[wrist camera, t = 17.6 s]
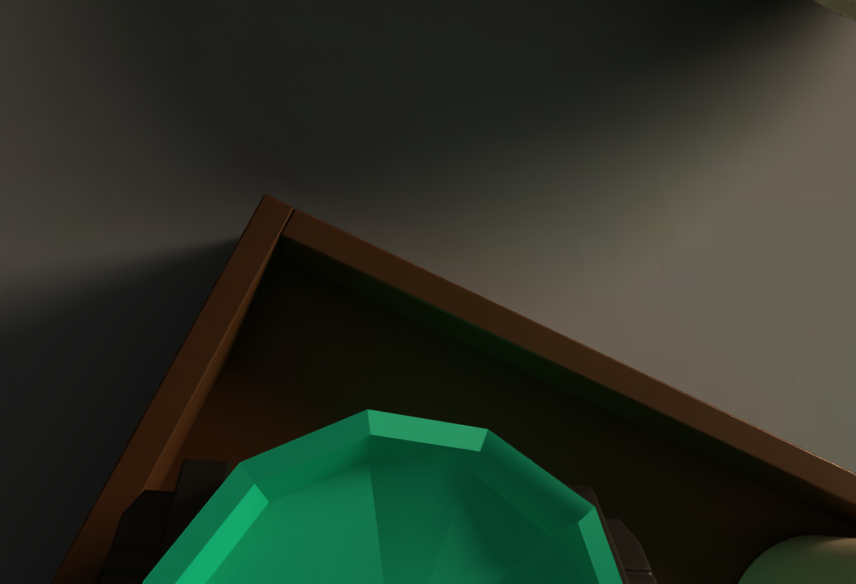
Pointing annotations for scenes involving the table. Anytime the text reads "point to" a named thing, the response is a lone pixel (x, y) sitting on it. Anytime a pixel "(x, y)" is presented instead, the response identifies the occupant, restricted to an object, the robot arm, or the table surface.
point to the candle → (391, 514)
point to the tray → (457, 403)
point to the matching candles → (805, 562)
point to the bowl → (841, 7)
